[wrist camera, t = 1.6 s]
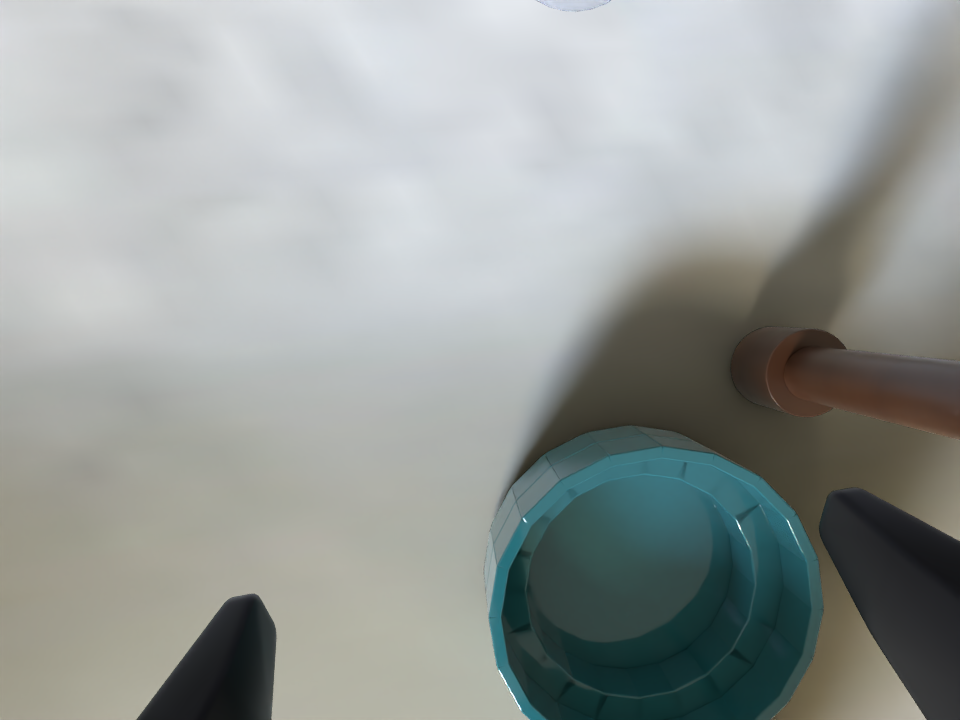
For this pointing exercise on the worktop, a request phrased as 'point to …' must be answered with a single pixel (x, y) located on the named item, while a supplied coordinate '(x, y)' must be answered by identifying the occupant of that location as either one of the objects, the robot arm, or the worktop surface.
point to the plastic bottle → (573, 4)
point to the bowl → (649, 584)
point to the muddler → (846, 380)
